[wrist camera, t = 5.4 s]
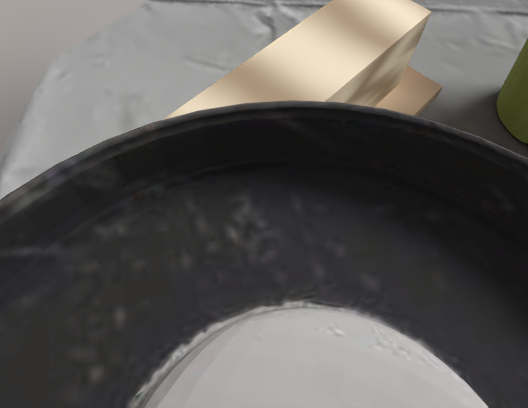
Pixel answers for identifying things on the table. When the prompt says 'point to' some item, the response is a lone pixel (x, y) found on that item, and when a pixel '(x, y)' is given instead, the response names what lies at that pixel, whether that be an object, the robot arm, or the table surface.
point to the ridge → (335, 61)
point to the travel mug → (270, 266)
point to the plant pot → (516, 98)
